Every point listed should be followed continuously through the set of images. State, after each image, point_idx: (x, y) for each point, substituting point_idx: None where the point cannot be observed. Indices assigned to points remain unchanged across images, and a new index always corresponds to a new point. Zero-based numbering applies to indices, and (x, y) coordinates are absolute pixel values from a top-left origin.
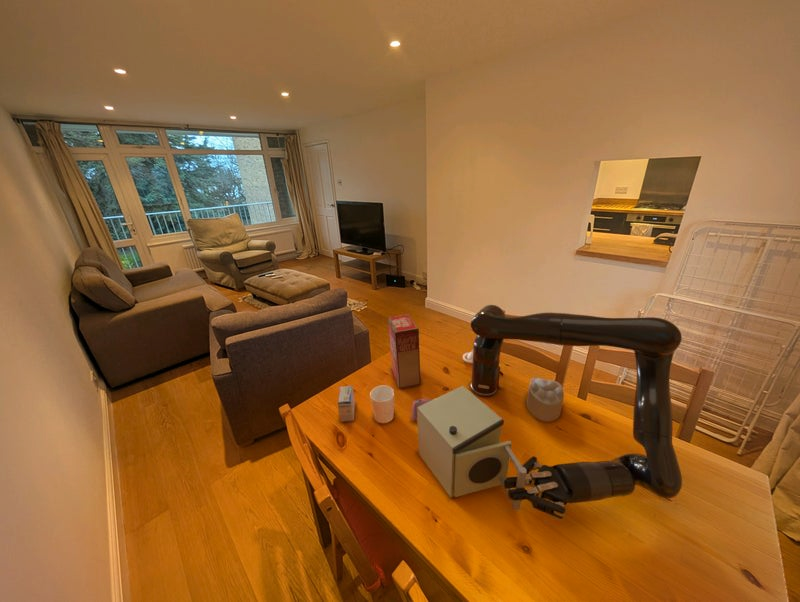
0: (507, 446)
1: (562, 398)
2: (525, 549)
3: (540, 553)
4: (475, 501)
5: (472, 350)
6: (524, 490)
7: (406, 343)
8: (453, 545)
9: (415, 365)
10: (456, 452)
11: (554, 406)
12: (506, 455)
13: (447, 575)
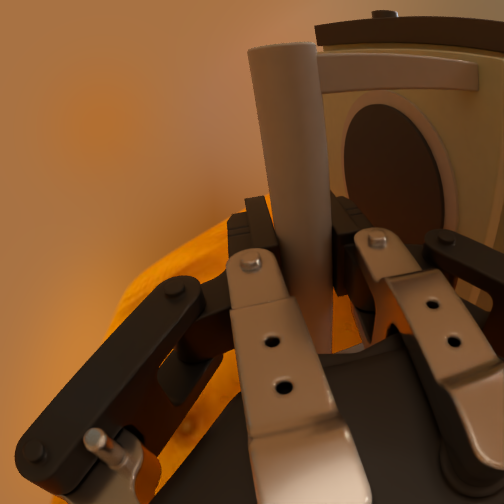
0: (466, 61)
1: None
2: (183, 424)
3: (164, 469)
4: (343, 300)
5: None
6: (256, 241)
7: None
8: (219, 261)
9: None
10: (324, 43)
11: None
12: (477, 164)
13: (167, 255)
